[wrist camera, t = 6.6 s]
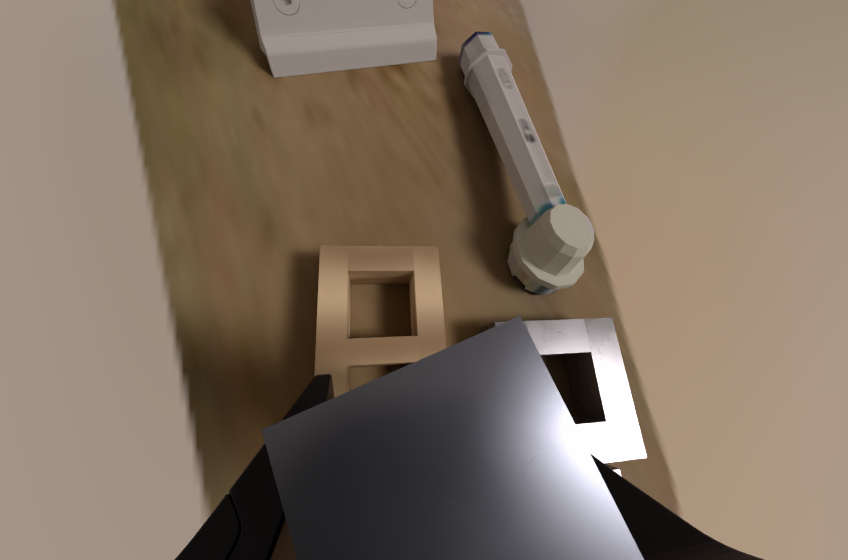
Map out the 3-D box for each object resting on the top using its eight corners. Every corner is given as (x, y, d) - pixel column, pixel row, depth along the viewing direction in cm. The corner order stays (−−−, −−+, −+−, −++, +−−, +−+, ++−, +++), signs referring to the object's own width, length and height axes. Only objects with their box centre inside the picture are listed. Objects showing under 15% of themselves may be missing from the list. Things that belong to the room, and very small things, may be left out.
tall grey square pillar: (428, 424, 15) (660, 592, 3) (370, 453, 14) (374, 844, 2) (404, 366, 16) (520, 315, 4) (348, 391, 15) (260, 429, 3)
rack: (444, 459, 20) (456, 471, 17) (318, 473, 19) (309, 490, 16) (430, 261, 24) (438, 246, 22) (326, 261, 23) (319, 245, 20)
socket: (612, 447, 22) (646, 457, 19) (495, 461, 21) (515, 474, 18) (584, 324, 25) (612, 317, 22) (480, 328, 23) (494, 321, 21)
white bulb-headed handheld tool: (509, 29, 29) (637, 252, 19) (487, 96, 35) (575, 294, 25) (458, 26, 28) (565, 262, 18) (443, 96, 34) (518, 303, 24)
